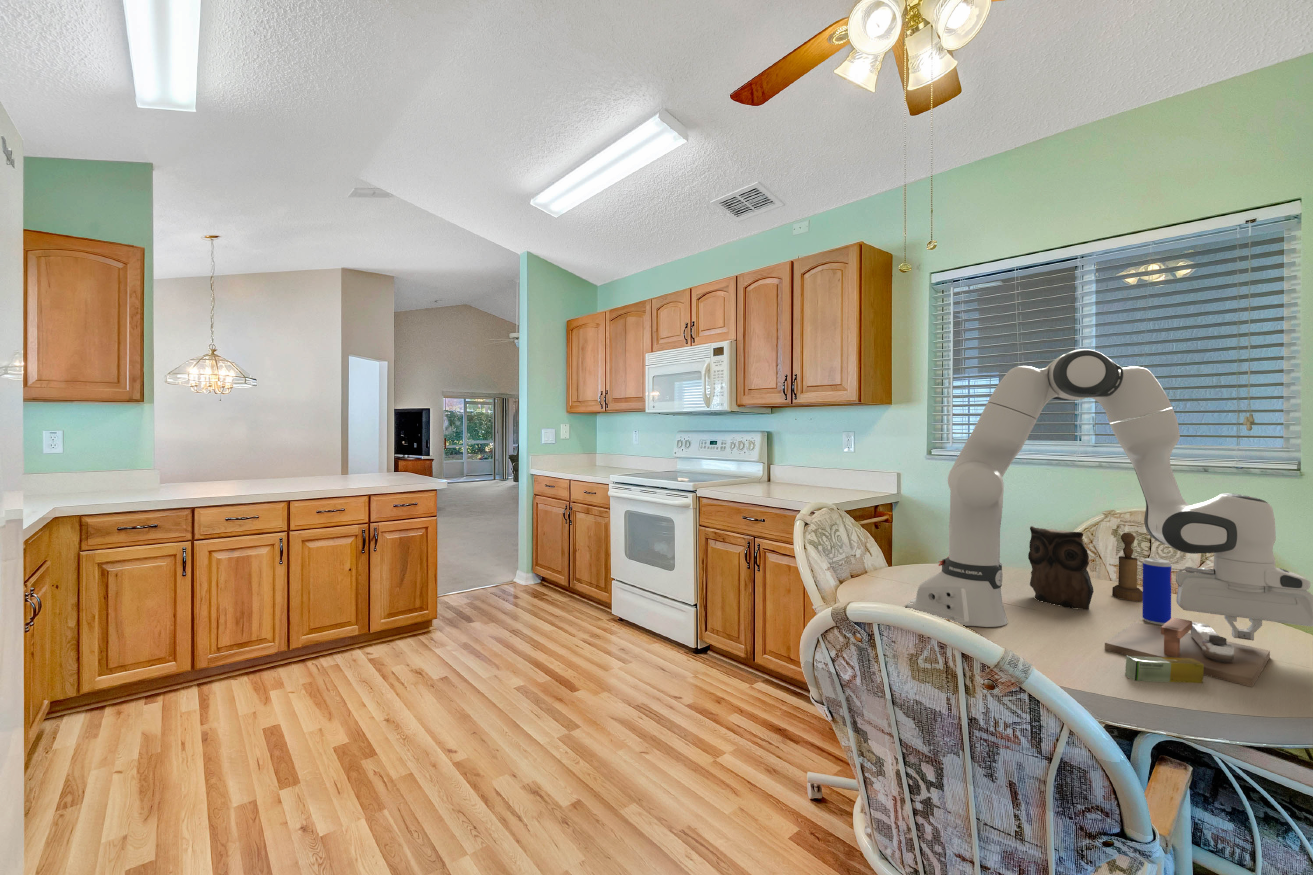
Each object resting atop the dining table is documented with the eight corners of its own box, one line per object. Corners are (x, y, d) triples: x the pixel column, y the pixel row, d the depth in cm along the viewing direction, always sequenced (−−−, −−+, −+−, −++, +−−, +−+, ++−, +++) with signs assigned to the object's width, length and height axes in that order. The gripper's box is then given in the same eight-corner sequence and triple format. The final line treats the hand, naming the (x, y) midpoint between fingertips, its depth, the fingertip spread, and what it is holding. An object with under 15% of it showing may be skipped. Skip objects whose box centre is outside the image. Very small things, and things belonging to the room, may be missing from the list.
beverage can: (1176, 626, 132) (1177, 563, 132) (1151, 624, 133) (1151, 562, 133) (1161, 618, 137) (1162, 558, 137) (1137, 617, 138) (1137, 557, 138)
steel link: (1236, 663, 106) (1237, 650, 106) (1205, 658, 109) (1205, 645, 109) (1212, 635, 120) (1212, 624, 120) (1184, 631, 123) (1184, 620, 123)
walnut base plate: (1104, 649, 118) (1105, 617, 118) (1134, 627, 131) (1134, 599, 131) (1252, 687, 101) (1252, 649, 101) (1269, 657, 114) (1270, 624, 114)
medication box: (1134, 682, 104) (1135, 661, 103) (1123, 675, 106) (1124, 654, 106) (1204, 684, 103) (1205, 663, 102) (1191, 677, 105) (1192, 656, 105)
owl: (1095, 611, 143) (1096, 533, 142) (1037, 606, 147) (1037, 530, 147) (1077, 597, 155) (1077, 525, 154) (1024, 593, 159) (1024, 523, 159)
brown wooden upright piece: (1149, 601, 151) (1150, 535, 151) (1125, 601, 151) (1126, 535, 151) (1129, 594, 158) (1129, 530, 157) (1106, 594, 158) (1106, 530, 158)
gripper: (1179, 568, 119) (1179, 633, 119) (1322, 582, 108) (1321, 653, 108) (1172, 562, 124) (1172, 624, 124) (1308, 575, 113) (1307, 643, 113)
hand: (1242, 638), depth 116 cm, fingers closed
